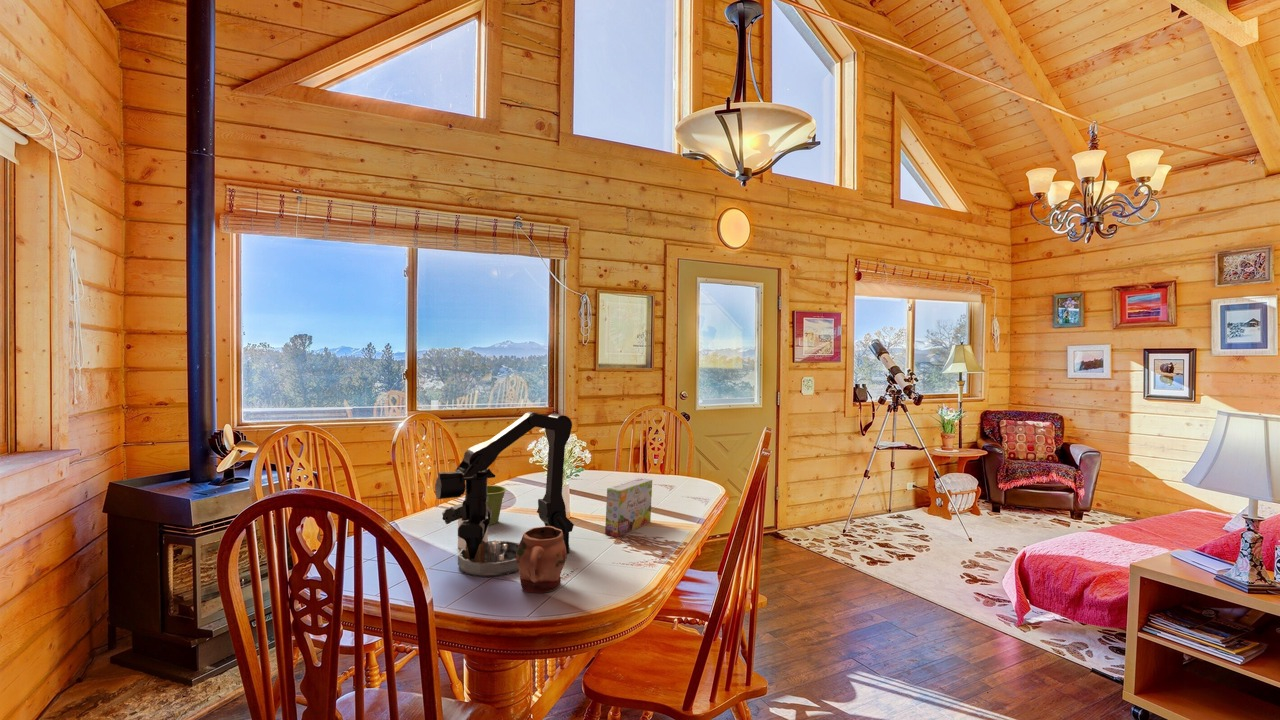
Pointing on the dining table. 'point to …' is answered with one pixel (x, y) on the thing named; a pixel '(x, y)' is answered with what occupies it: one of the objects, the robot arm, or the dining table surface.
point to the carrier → (492, 560)
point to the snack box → (628, 506)
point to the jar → (462, 542)
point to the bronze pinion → (479, 554)
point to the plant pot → (495, 501)
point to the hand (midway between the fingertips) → (475, 552)
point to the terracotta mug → (541, 559)
